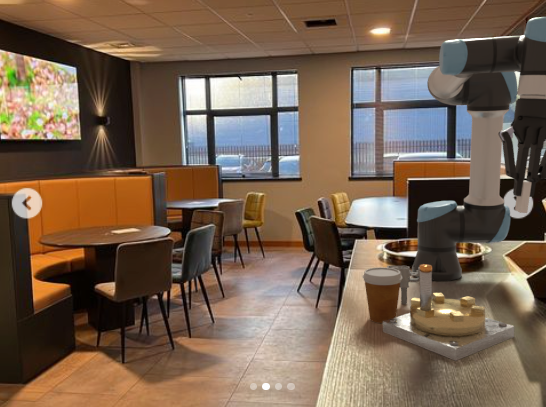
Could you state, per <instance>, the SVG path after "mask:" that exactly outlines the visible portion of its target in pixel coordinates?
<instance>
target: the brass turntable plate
mask: <svg viewBox="0 0 546 407" xmlns="http://www.w3.org/2000/svg"><path fill="white" fill-rule="evenodd" d="M432 282H433V280H432V265H427V264H423V265H420V281H419V297H412V298H411V299H410V307H409V309H410V311H409V313H410V321H411V323H412V325H413V326H415V327H416V328H418V329H420V330H423V331H426V332H429V333H434V334H439V335H448V336H463V335H471V334H475V333H478V332H481V331H482V330H484V328H485V317H486V306H480V305H478V304H476V298H475V297H472V296H469V295H468V296H464V297H460V299H454V298H445V295H444V294H443V293H442V292H433V293H432Z"/></svg>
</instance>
